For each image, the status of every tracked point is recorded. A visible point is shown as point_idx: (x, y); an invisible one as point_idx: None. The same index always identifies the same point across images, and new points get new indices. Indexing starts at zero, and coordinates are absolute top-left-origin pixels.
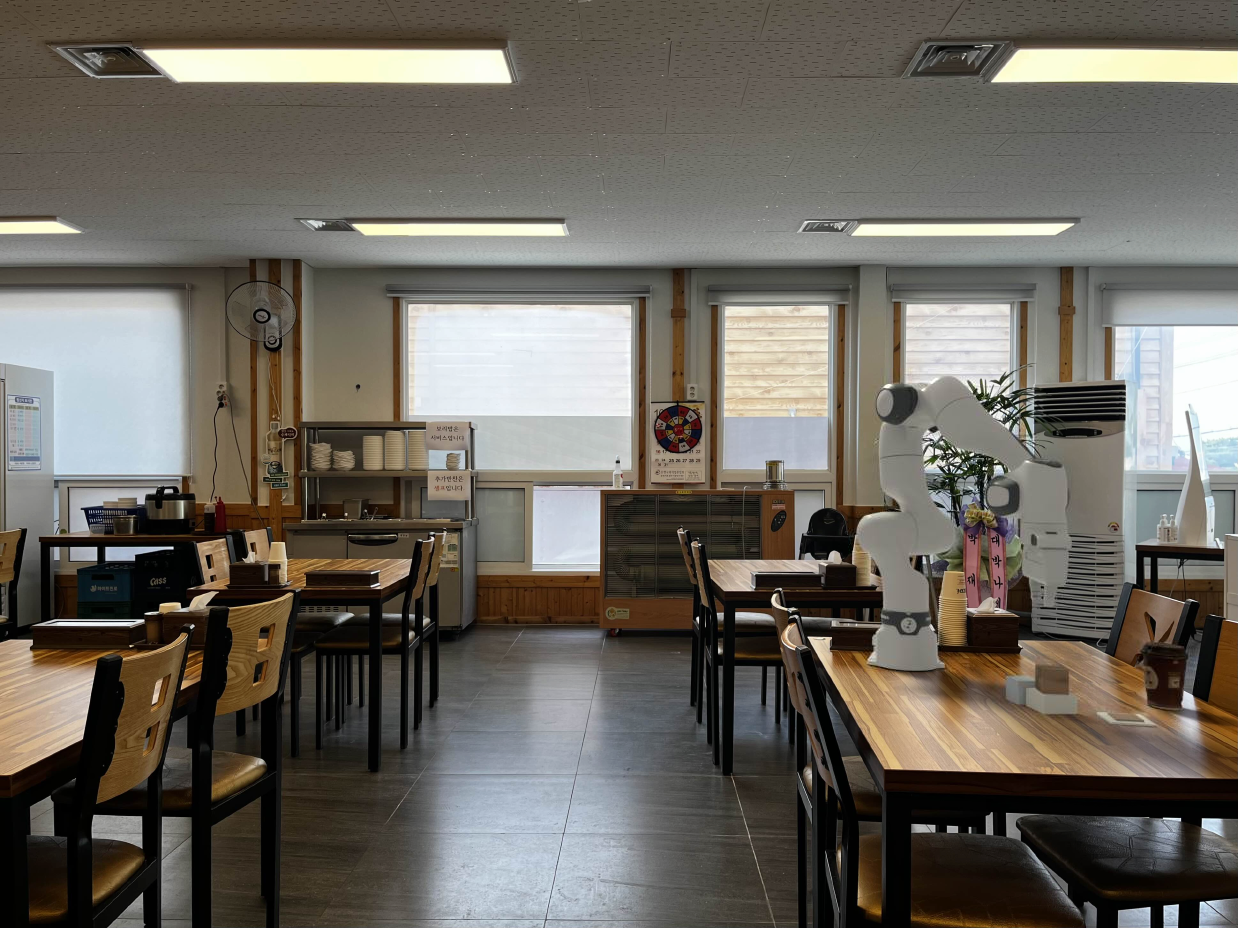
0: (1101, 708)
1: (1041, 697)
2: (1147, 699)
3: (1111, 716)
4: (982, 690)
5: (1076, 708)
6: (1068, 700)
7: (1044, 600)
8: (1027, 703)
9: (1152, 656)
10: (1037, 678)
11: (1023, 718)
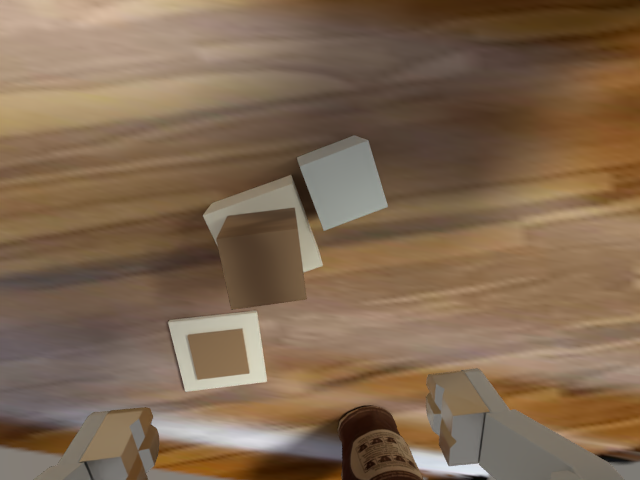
0: (315, 326)
1: (215, 209)
2: (372, 412)
3: (217, 331)
4: (446, 84)
5: None
6: None
7: (88, 440)
8: (284, 178)
9: None
10: (272, 219)
11: (136, 145)
